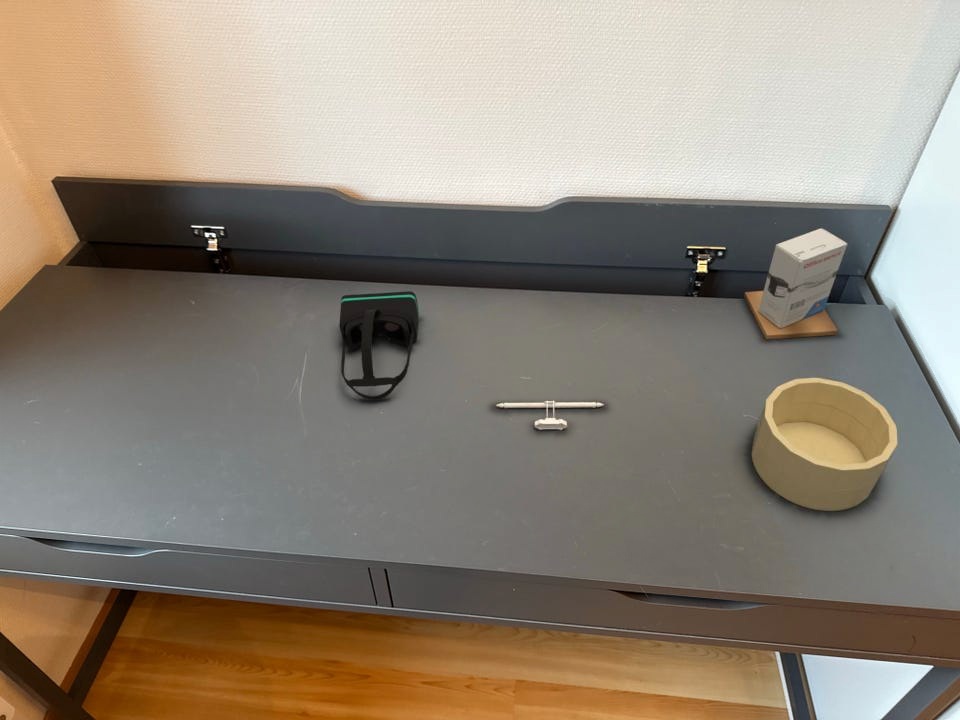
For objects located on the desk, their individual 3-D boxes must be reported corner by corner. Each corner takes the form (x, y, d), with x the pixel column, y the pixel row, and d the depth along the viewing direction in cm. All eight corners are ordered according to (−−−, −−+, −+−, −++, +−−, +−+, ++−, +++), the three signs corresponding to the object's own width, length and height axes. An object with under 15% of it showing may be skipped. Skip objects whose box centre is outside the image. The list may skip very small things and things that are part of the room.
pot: (844, 416, 88) (863, 374, 83) (895, 507, 79) (921, 465, 73) (736, 424, 89) (749, 381, 83) (774, 514, 79) (790, 473, 74)
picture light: (603, 404, 92) (604, 393, 91) (606, 429, 89) (607, 418, 88) (496, 405, 93) (495, 394, 92) (495, 430, 90) (495, 419, 88)
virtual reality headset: (419, 317, 107) (411, 268, 99) (417, 407, 96) (408, 360, 88) (347, 321, 107) (333, 273, 99) (336, 411, 96) (320, 365, 88)
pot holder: (809, 291, 107) (810, 287, 106) (836, 334, 100) (838, 330, 99) (743, 296, 107) (744, 292, 106) (765, 339, 100) (767, 335, 99)
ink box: (800, 292, 105) (822, 225, 97) (825, 311, 102) (850, 243, 94) (755, 310, 103) (774, 243, 95) (779, 329, 100) (801, 261, 92)
